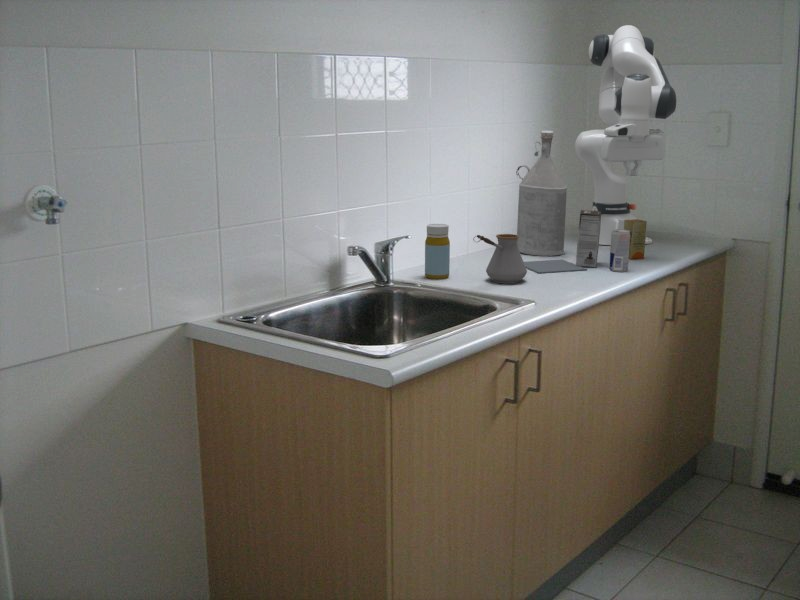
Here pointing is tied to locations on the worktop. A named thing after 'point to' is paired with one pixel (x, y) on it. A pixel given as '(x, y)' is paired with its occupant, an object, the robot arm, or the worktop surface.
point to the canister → (542, 205)
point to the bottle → (437, 251)
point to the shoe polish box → (636, 237)
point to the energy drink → (619, 250)
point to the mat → (552, 266)
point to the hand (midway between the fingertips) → (631, 175)
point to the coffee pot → (505, 260)
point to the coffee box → (588, 238)
